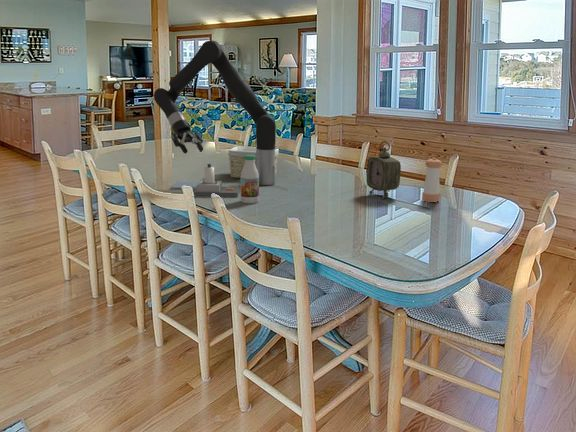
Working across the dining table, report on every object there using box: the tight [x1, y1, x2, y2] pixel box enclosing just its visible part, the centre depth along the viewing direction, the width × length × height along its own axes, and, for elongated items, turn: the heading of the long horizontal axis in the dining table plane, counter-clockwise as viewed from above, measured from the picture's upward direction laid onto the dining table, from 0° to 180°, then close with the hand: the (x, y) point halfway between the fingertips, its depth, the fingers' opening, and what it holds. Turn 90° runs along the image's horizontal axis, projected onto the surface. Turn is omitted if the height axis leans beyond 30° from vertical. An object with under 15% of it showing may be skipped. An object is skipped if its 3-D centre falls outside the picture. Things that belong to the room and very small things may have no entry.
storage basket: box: [227, 145, 280, 179], centre depth 285 cm, size 24×16×15 cm
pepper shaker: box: [421, 157, 443, 203], centre depth 238 cm, size 7×7×19 cm
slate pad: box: [170, 180, 200, 191], centre depth 260 cm, size 14×14×1 cm
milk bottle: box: [240, 155, 260, 205], centre depth 231 cm, size 8×8×20 cm
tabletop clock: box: [366, 140, 402, 200], centre depth 244 cm, size 14×9×25 cm, turn 24°
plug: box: [203, 163, 216, 184], centre depth 245 cm, size 5×5×12 cm
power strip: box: [192, 179, 241, 198], centre depth 246 cm, size 20×12×5 cm, turn 90°
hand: (194, 151), depth 250 cm, fingers open, 8 cm apart
